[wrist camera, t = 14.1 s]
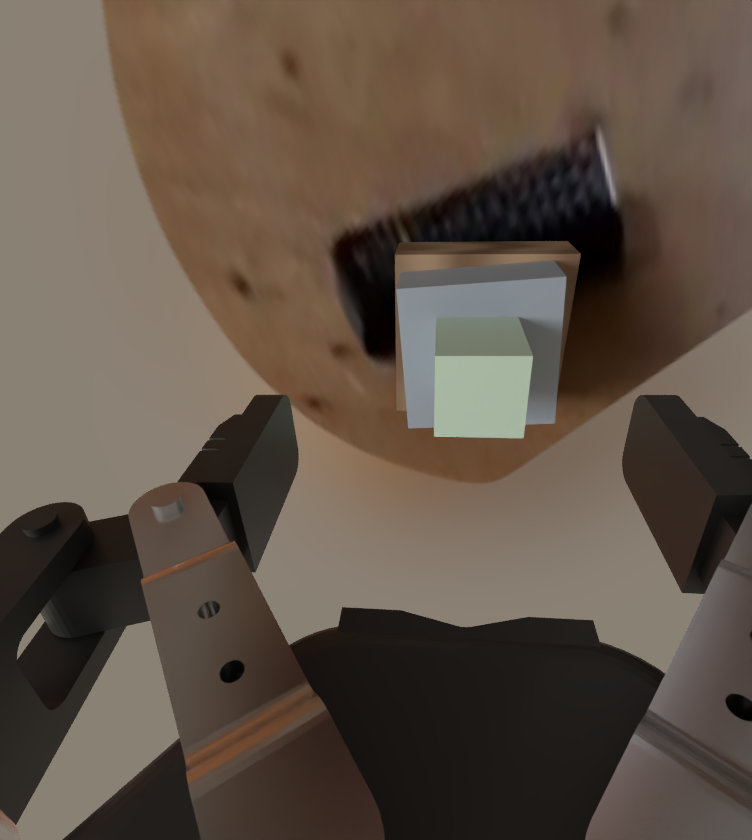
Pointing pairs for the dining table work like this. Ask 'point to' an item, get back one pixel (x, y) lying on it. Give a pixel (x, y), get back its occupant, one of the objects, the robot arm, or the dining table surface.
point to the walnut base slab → (482, 254)
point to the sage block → (481, 377)
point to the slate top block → (482, 297)
